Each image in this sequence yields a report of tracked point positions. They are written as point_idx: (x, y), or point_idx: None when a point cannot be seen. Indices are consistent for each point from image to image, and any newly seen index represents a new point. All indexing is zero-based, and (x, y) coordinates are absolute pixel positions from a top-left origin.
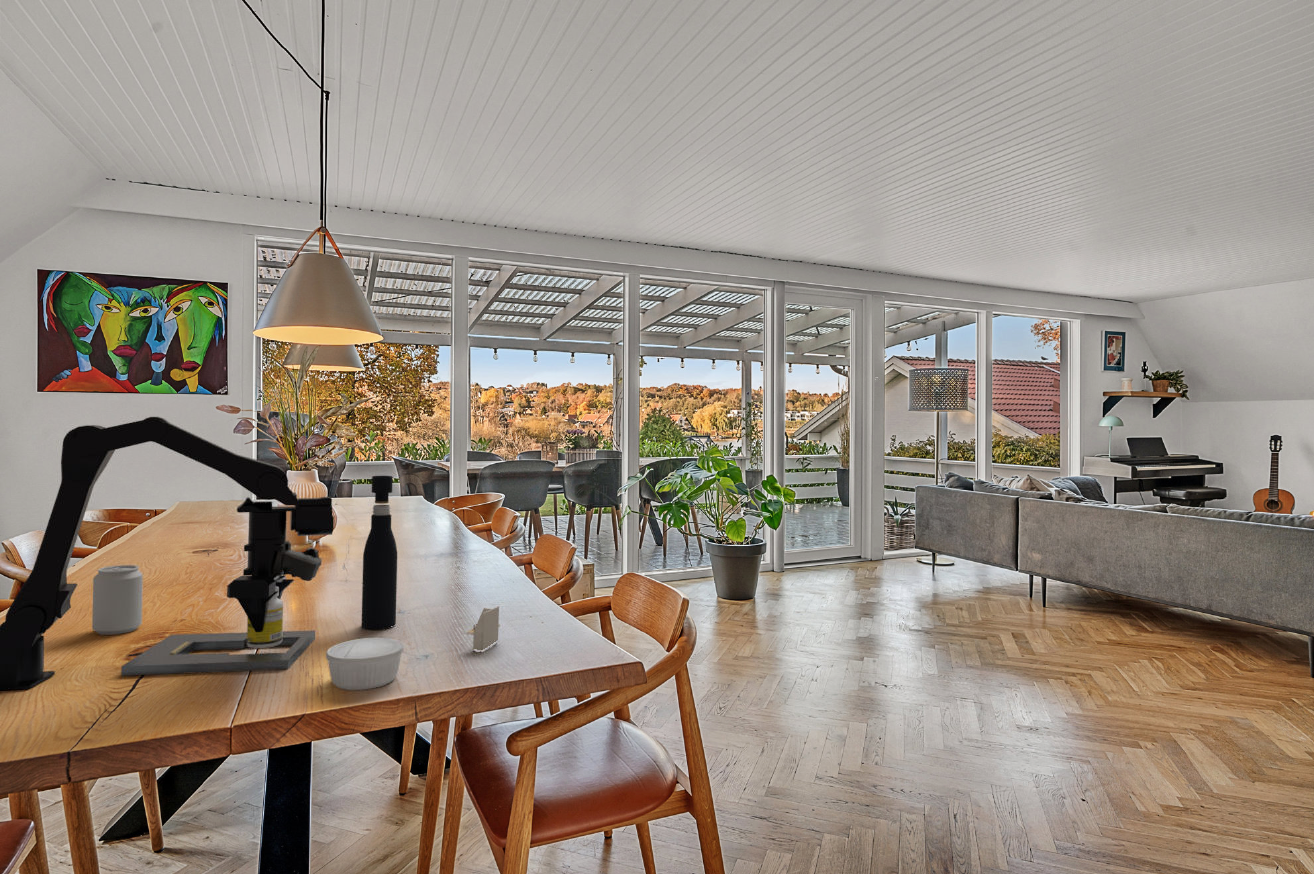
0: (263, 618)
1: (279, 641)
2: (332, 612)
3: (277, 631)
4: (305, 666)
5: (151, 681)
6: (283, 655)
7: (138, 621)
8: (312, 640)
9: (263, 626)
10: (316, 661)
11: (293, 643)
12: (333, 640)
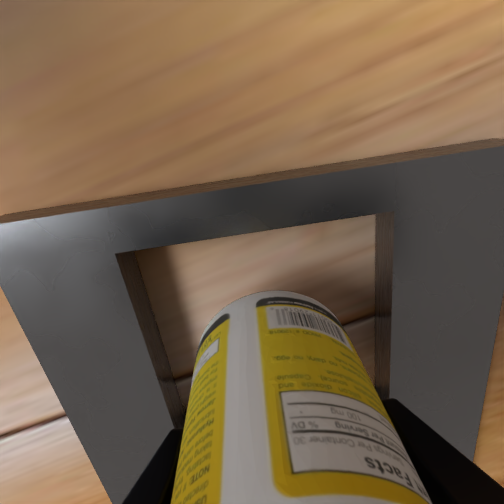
0: (488, 475)
1: (289, 296)
2: None
3: (320, 336)
4: (466, 64)
5: (501, 475)
6: (441, 200)
7: None
8: (52, 208)
9: (410, 418)
10: (391, 34)
11: (135, 269)
12: (3, 95)
